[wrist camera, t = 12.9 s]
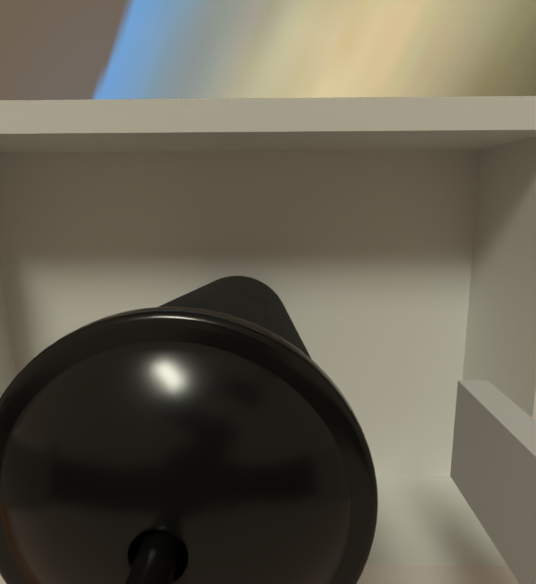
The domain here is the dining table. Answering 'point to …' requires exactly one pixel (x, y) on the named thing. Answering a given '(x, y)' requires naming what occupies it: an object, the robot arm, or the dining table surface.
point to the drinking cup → (184, 452)
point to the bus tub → (302, 261)
